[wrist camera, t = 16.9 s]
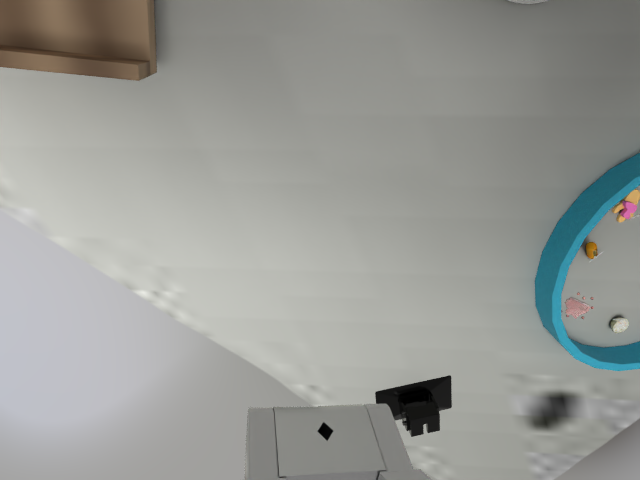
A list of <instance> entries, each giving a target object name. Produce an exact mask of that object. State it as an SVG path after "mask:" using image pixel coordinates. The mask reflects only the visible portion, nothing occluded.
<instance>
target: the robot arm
mask: <svg viewBox="0 0 640 480" xmlns="http://www.w3.org/2000/svg"><path fill="white" fill-rule="evenodd" d="M508 1H511V2H515V3H520V4H534V3H541V2H545V1H548V0H508ZM245 454H246V455H245V480H432V479H431V478H430V477H428V476H427V475H426V474H425V473H424V472H423V471H422V470H421V469H418V470H414V469H413V467H412V464H411V462H410V459H409V456H408V454H407V451H406V449H405V446H404V443H403V441H402V438H401V436H400V433H399V430H398V428H397V425H396V423H395V420H394V417H393V415H392V412H391V410H390V407H389V406H388V405H387V404H364V405H362V404H359V405H336V406H318V407H273V408H249V409H248V420H247V435H246V453H245Z"/></svg>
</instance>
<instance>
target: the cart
mask: <svg viewBox="0 0 640 480" xmlns="http://www.w3.org/2000/svg"><path fill="white" fill-rule="evenodd" d="M0 67H7V68H17V69H27V70H37V71H47V72H57V73H67V74H77V75H87V76H97V77H107V78H117V79H127V80H137V81H139V80H141V79H144V78H146V77H148V76H150V75H152V74H154V73H156V72H157V66H156V41H155V15H154V0H0Z"/></svg>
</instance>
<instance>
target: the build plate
mask: <svg viewBox="0 0 640 480" xmlns="http://www.w3.org/2000/svg"><path fill="white" fill-rule="evenodd" d="M375 394H376V404H387V405H388V406H389V407H390V410H391V412H392V415H393V417H394V420H399V419H402V420H403V421H402V423H403V425H405V428H406V430H407V431H409V432H410V434H411V437H413V436H417V435H421V434H423V425H424V424H426V428H427V432H428V433H430V432H435V431H439V430H440V414H439V411H440V410H445V409H449V408H451V407H452V404H451V376H446V377H441V378H436V379H432V380H427V381H423V382H418V383H414V384H409V385H405V386H400V387H395V388H391V389H386V390H382V391H377V392H376V393H375Z"/></svg>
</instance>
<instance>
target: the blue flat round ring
mask: <svg viewBox="0 0 640 480" xmlns="http://www.w3.org/2000/svg"><path fill="white" fill-rule="evenodd" d="M639 185H640V153H638V154H637V155H635V156H633V157H631V158H629V159H628V160H626V161H624V162H622V163H620V164H619V165H617V166H615V167H613V168H611V169H610V170H609V171H608V172H606V173H605V174H604V175H603V176H602V177H600V178H599V179H598V180H597V181H596V182H595V183H593V184H592V185H591V186H590V187H589V188H587V189H586V190H585V191H584V192H583V193H581V195H580V196H579V197H578V198H577V199H576V201H575V202H574V203H573V204H572V206H571V207H570V208H569V209H568V211H567V212H566V213H565V214H564V215H563V217H562V218H561V219H560V220H559V222H558V223H557V225H556V227H555V229H554V231H553V233H552V234H551V236H550V238H549V240H548V242H547V244H546V246H545V248H544V250H543V252H542V255H541V259H540V263H539V267H538V271H537V275H536V278H535V298H536V308H537V310H538V313H539V315H540V318H541V321H542V323H543V326H544V327H545V328H546V329H547V330H548V331H549V332H550V334H551V335H552V336H553V337H554V338H555V339H556V340H557V341H558V342H559V343H560V344H561V345H562V346H563V347H564V348H565V349H566V350H567V351H568V352H569V353H570V354H571V355H572V356H573V357H574V358H575V359H577V360H579V361H581V362H583V363H586V364H588V365H590V366H592V367H594V368H599V369H607V370H614V371H623V370H632V369H640V341H639V342H636V343H633V344H629V345H625V346H615V347H605V348H602V347H595V346H588V345H582V344H580V343H578V342H576V341H574V340H572V339H570V338H568V336H567V333H566V330H565V328H564V325H563V322H562V319H561V313H562V310H561V293H562V290H563V286H564V283H565V279H566V276H567V272H568V269H569V266H570V264H571V262H572V261H573V259H574V257H575V255H576V253H577V252H578V250H579V248H580V246H581V245H582V243H583V241H584V239H585V238H586V236H587V235H588V234H589V233H590V232H591V230H592V229H593V228H594V227H595V226H596V225H597V223H598V222H599V221H600V220H601V219H602V217H603V216H604V215H605V214H606V213H607V212H608V210H610V209H611V208H612V207H613V206H614V205H615V207H614V208H613V210H612V212H614V213H617V212H619V210H621V209H623V210H622V211H621V213H620V214H619V215H618V217H617V221H618V222H623V221H624V220H625V219H629V220H631V219H632V217H633V218H635V217H637V216H638V215H639V214H638V215H635V216H633V214H634V212H635V211H636V209H637V206H636V205H637V203H638V201H639V199H640V192H639V191H638V190H636V189H635V188H636V187H638V186H639ZM623 198H624V199H623ZM622 199H623V200H622ZM620 200H622V201H621V202H620V203H619V204H617V203H618V202H619V201H620ZM616 204H617V205H616ZM586 252H587V256H588V257H589V258H590V259H592V260H593V259H594V256H596V257H597V245H596V244H595V243H594V242H589V243H587V244H586ZM602 253H603V252H602ZM600 254H601V253H600ZM600 254H599V255H600ZM596 257H595V258H596ZM592 260H591V261H592ZM591 261H589V262H591ZM577 294H578V295H580V293H577ZM569 299H570V300H568V299H567V300H566V301H567V302H565V304H566V307H567V308H568V307H569V308H568V309H566V314H571V313H572V314H571V315H573V313H574V315H575V314H576V313H577V312H578V311H579V310H580V311H581V312H582V313H583V314H585V313H587V311H589V310H588V309H590V306H588V305H587V304H585V303H583V302H581V301H579V300H576V299H574V298H569ZM573 299H574V300H573ZM583 299H585V297H583ZM591 299H592V300H593V299H594V298H593V297H591ZM571 300H573V301H571ZM575 300H576V302H575ZM578 301H579V302H578ZM577 302H578V306H577ZM580 302H581V303H580ZM574 303H575V305H574ZM582 303H583V304H582ZM584 304H585V305H584ZM579 305H580V307H581V308H582V306H584V307H585V306H586V305H587V306H588V307H587V306H586V307H587V308H588V309H587V308H586V307H585V308H586V309H587V310H586V309H585V308H584V307H583V308H584V309H585V311H584V310H583V311H582V310H581V309H580V307H579ZM581 305H582V306H581ZM576 306H577V307H576ZM573 307H574V308H573ZM575 307H576V308H575ZM578 307H579V309H578ZM572 308H573V309H572ZM593 308H594V307H593V306H592V307H591V309H593ZM575 309H576V310H575ZM570 310H571V311H570ZM577 310H578V311H577ZM572 311H574V312H572ZM576 311H577V312H576ZM580 311H579V312H580ZM575 312H576V313H575ZM579 312H578V313H579ZM581 312H580V313H579V314H580V315H582V313H581ZM578 313H577V314H578ZM577 314H576V315H577ZM579 314H578V315H577V316H578V317H579ZM574 315H573V317H574V318H575V319H577V317H576V315H575V316H574ZM566 317H569V315H566ZM582 319H584V317H582ZM628 325H629V321H628V320H626V319H625V318H620V317H619V318H616V319H613V321H612V322H611V329H612V331H614V332H615V333H620V332H623V331H624V330H625V329H627V327H628Z"/></svg>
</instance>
